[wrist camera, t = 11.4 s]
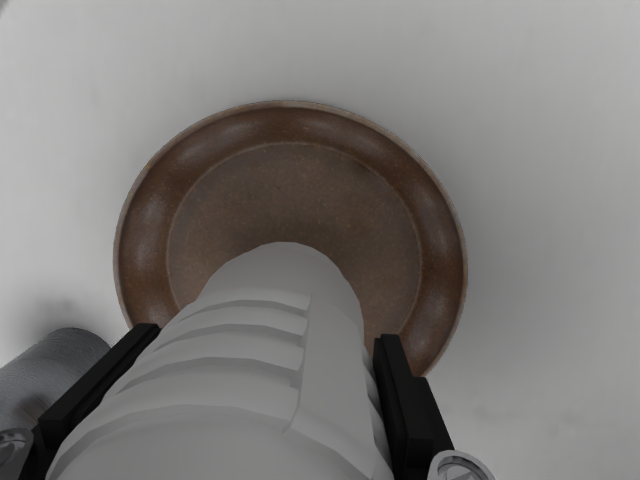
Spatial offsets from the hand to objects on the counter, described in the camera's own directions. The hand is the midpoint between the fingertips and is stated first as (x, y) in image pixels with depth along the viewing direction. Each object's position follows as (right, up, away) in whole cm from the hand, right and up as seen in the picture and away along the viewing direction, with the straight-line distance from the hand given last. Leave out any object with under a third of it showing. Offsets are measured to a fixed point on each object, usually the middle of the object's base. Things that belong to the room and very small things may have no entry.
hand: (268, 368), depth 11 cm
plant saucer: (0, +3, +8) cm, 9 cm away
